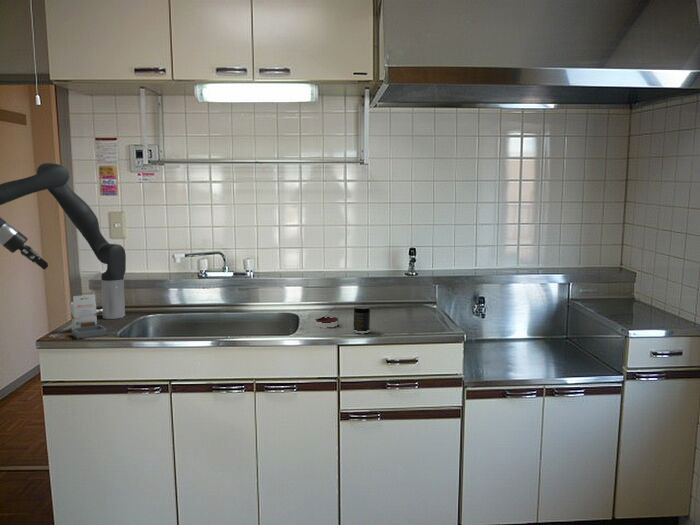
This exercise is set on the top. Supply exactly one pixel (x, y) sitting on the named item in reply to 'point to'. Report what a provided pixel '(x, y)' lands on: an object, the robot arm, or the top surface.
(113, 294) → the robot arm
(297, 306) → the top surface
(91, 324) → the clip stand
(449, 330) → the top surface
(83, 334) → the tray
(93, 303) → the ink box
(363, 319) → the supplement container
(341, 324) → the top surface
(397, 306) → the top surface
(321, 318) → the canned food
